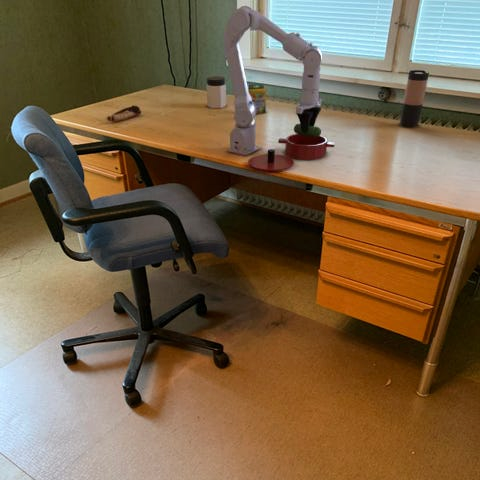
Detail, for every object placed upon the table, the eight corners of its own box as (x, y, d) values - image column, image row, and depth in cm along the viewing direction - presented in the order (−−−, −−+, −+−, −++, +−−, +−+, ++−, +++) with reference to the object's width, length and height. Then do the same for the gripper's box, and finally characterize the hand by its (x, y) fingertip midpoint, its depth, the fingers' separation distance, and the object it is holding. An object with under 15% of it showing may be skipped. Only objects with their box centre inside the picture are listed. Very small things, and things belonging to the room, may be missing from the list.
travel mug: (397, 126, 202) (406, 72, 189) (401, 121, 207) (411, 69, 195) (416, 128, 199) (427, 74, 187) (420, 123, 204) (431, 71, 192)
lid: (288, 174, 159) (289, 159, 156) (243, 170, 162) (243, 155, 159) (297, 159, 171) (298, 145, 168) (254, 155, 174) (254, 141, 171)
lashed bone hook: (131, 113, 221) (99, 121, 210) (130, 102, 219) (97, 109, 207) (145, 116, 216) (113, 124, 205) (144, 104, 214) (111, 112, 202)
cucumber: (322, 136, 170) (323, 126, 168) (317, 139, 168) (318, 129, 166) (296, 131, 175) (297, 121, 173) (291, 134, 173) (292, 124, 171)
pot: (330, 162, 168) (332, 147, 165) (274, 157, 172) (274, 143, 169) (335, 149, 179) (337, 135, 176) (282, 144, 183) (282, 131, 180)
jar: (204, 105, 231) (203, 77, 224) (220, 103, 234) (219, 75, 227) (213, 109, 225) (211, 80, 217) (228, 107, 228) (228, 79, 220)
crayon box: (250, 114, 218) (250, 85, 211) (248, 112, 220) (248, 84, 213) (265, 112, 219) (266, 84, 212) (263, 111, 222) (264, 83, 215)
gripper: (310, 94, 156) (307, 138, 164) (331, 86, 165) (327, 127, 174) (291, 91, 159) (289, 134, 168) (312, 83, 169) (309, 124, 177)
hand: (307, 130), depth 171 cm, fingers closed on cucumber, 3 cm apart
